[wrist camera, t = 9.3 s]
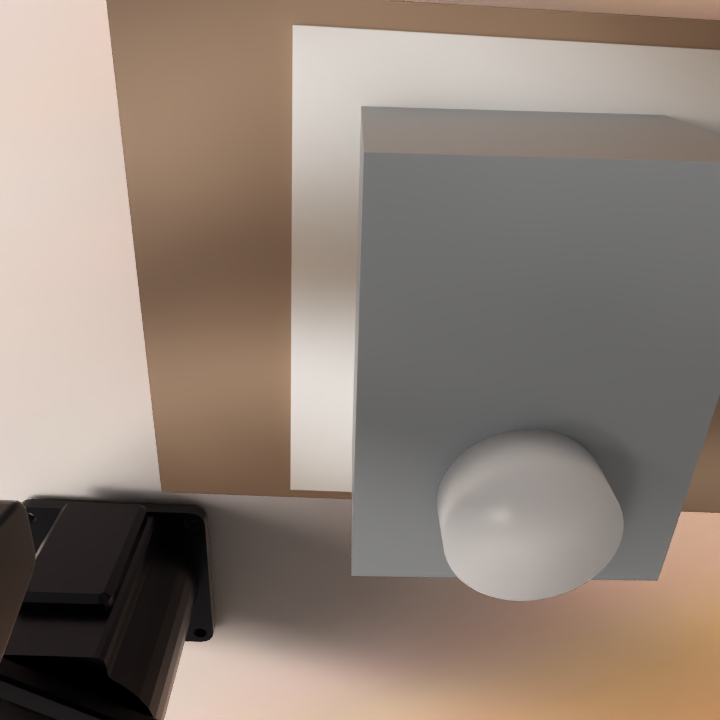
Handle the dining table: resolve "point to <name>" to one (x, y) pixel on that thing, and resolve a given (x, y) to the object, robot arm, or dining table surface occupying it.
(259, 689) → the dining table surface
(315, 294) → the walnut stand
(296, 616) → the dining table surface
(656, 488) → the housing
